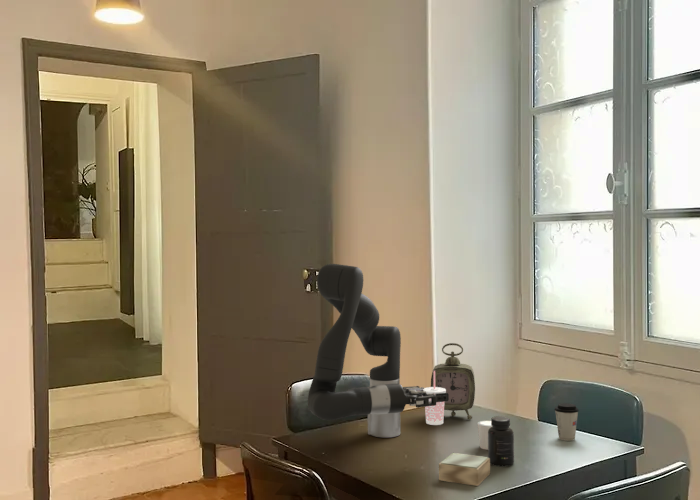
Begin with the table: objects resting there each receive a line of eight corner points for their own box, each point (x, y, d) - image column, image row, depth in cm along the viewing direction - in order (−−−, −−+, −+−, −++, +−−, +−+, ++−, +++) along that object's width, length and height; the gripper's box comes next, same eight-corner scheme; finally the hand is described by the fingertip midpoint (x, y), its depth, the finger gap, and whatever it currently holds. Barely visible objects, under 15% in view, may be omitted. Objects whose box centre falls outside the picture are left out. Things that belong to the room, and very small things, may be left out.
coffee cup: (553, 440, 214) (552, 406, 214) (556, 434, 220) (555, 401, 220) (578, 442, 211) (577, 408, 211) (580, 436, 217) (579, 403, 217)
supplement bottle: (485, 459, 196) (484, 415, 196) (509, 458, 197) (509, 414, 197) (492, 467, 190) (491, 421, 189) (517, 466, 190) (517, 420, 190)
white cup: (502, 451, 204) (501, 426, 204) (477, 450, 205) (477, 425, 205) (502, 444, 211) (501, 420, 211) (478, 443, 212) (477, 419, 212)
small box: (439, 480, 180) (438, 462, 180) (452, 468, 189) (452, 452, 189) (477, 485, 176) (477, 468, 176) (490, 473, 184) (489, 457, 184)
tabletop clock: (430, 420, 239) (429, 344, 239) (432, 413, 248) (431, 341, 248) (475, 421, 237) (474, 345, 237) (475, 414, 246) (474, 341, 245)
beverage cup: (419, 423, 194) (418, 371, 193) (429, 418, 199) (429, 367, 198) (439, 427, 190) (439, 374, 190) (450, 421, 195) (449, 370, 195)
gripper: (393, 390, 183) (454, 385, 188) (374, 379, 197) (431, 375, 202) (394, 420, 183) (454, 414, 188) (375, 406, 197) (432, 401, 202)
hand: (442, 394), depth 195 cm, fingers closed on beverage cup, 6 cm apart
